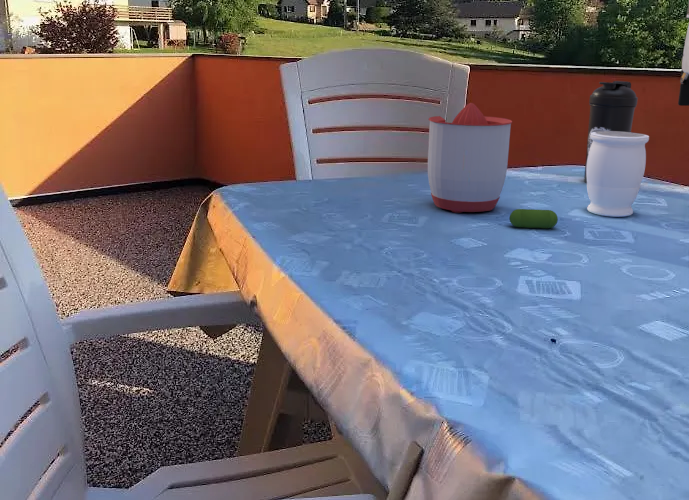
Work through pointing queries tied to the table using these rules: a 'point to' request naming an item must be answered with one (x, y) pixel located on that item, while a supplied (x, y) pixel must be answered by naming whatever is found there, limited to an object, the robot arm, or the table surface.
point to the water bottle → (611, 110)
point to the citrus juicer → (468, 160)
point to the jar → (615, 171)
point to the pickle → (533, 218)
